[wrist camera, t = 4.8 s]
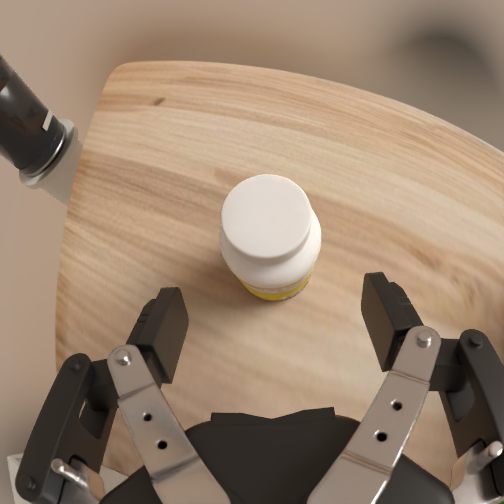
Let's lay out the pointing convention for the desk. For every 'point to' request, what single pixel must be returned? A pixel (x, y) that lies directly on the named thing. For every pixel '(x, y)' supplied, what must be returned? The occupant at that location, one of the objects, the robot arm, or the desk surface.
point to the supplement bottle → (270, 236)
